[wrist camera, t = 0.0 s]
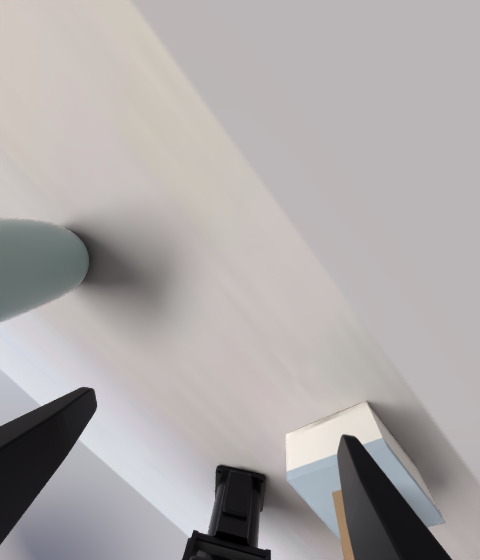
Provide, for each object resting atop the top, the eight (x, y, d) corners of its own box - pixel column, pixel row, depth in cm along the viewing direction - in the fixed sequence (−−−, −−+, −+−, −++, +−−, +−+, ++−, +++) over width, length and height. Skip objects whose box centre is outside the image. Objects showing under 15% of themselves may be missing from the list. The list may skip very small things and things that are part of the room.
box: (415, 465, 25) (439, 511, 21) (333, 490, 28) (341, 534, 24) (365, 400, 23) (382, 437, 20) (285, 434, 26) (286, 471, 23)
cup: (42, 204, 23) (-123, 198, 14) (109, 237, 23) (-11, 255, 13) (34, 269, 26) (-109, 304, 16) (94, 300, 25) (-15, 352, 16)
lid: (439, 511, 21) (496, 618, 15) (341, 534, 24) (360, 630, 18) (382, 437, 20) (422, 525, 14) (286, 471, 23) (289, 554, 17)
